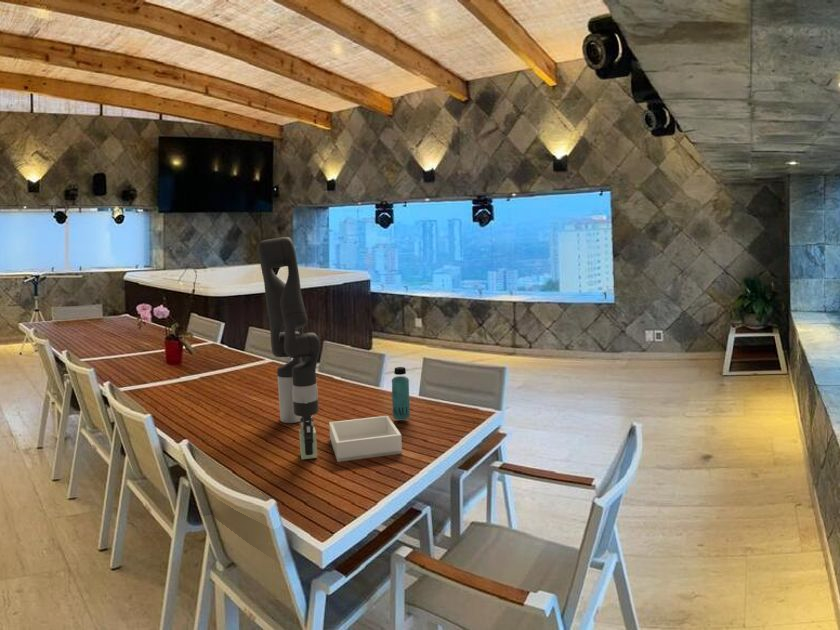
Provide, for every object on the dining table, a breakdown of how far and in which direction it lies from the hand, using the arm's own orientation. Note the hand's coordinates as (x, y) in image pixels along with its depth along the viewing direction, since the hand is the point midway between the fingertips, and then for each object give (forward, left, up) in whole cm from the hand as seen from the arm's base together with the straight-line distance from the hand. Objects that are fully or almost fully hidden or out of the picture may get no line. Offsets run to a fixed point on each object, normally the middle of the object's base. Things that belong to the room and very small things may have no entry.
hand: (308, 451), depth 174 cm
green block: (0, 0, -1) cm, 1 cm away
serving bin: (-3, +18, -2) cm, 18 cm away
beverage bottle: (-23, +35, -2) cm, 42 cm away
